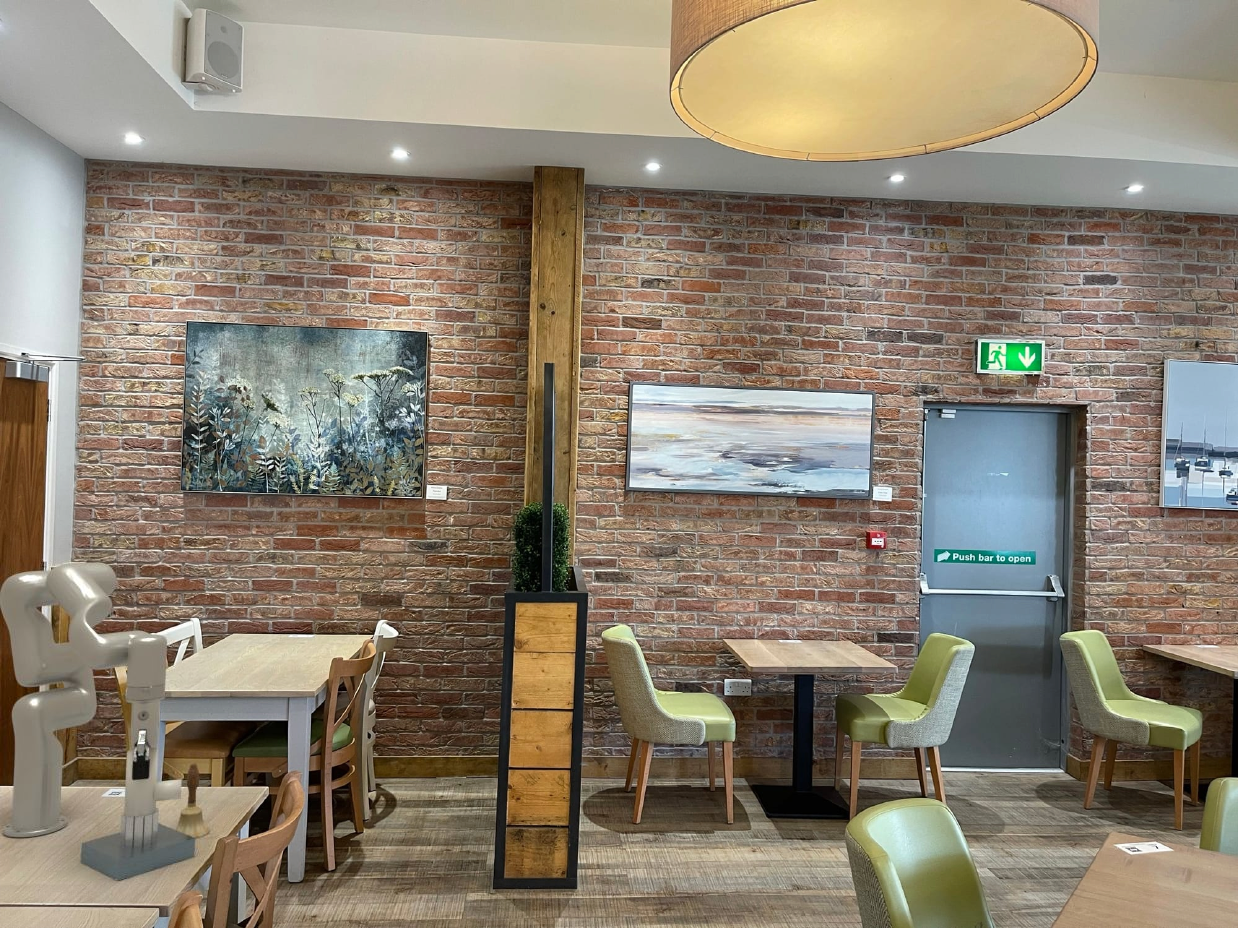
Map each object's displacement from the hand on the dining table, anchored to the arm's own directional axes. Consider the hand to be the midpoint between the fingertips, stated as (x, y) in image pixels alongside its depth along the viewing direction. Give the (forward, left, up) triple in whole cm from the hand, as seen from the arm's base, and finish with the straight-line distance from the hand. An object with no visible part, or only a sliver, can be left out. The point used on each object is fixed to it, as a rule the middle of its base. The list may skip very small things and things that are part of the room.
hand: (142, 772), depth 192 cm
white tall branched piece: (+1, +2, -11) cm, 12 cm away
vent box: (0, 0, -18) cm, 18 cm away
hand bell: (-6, +15, -19) cm, 25 cm away
